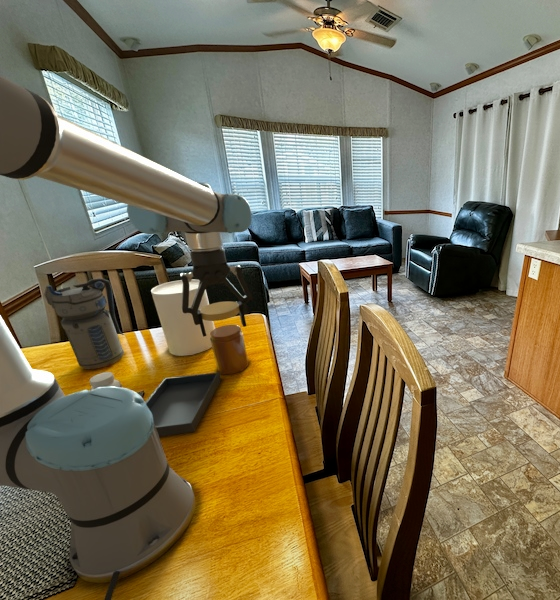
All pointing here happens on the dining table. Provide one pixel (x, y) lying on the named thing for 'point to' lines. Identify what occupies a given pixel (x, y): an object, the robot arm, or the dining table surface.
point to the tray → (181, 402)
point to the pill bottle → (104, 380)
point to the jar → (229, 349)
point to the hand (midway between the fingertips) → (224, 329)
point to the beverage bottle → (88, 322)
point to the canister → (181, 318)
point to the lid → (220, 311)
